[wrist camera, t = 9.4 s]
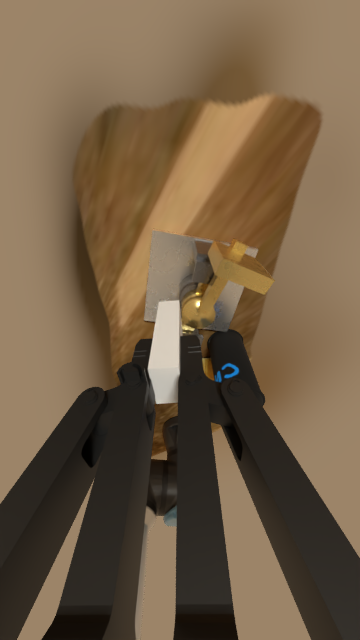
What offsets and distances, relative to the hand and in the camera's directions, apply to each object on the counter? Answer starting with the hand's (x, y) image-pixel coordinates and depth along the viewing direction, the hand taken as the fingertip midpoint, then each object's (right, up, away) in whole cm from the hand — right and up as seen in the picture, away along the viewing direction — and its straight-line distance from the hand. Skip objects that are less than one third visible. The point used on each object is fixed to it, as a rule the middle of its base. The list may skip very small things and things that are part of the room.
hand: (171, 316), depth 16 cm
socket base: (+4, +6, +25) cm, 26 cm away
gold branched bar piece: (+5, +5, +18) cm, 19 cm away
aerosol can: (+11, -5, +34) cm, 36 cm away
